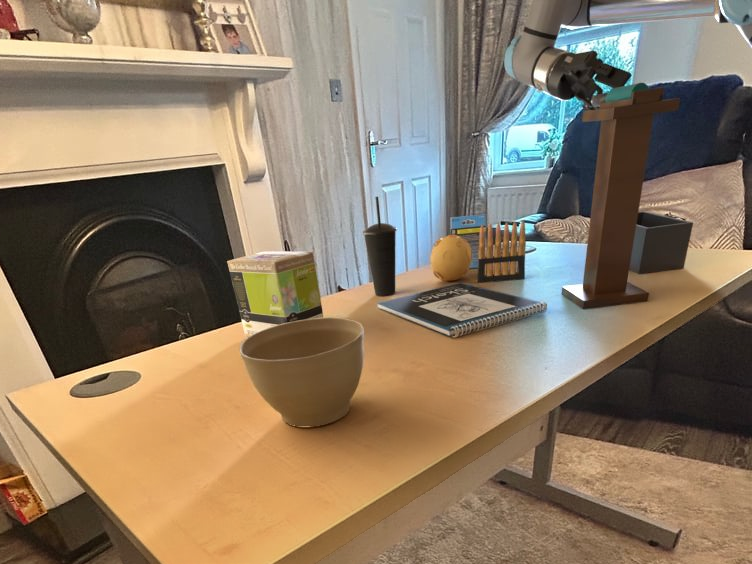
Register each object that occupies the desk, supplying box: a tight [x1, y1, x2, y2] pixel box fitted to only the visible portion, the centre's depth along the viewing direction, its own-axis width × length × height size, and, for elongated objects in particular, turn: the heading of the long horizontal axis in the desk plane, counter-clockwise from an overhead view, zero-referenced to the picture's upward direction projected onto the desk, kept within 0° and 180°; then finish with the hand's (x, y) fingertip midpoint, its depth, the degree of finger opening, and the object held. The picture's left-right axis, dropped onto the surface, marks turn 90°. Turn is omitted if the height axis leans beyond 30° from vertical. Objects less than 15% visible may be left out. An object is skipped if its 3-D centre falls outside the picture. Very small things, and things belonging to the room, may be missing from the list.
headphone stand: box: [561, 87, 681, 310], centre depth 94 cm, size 13×12×32 cm
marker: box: [592, 82, 649, 107], centre depth 89 cm, size 18×3×3 cm, turn 2°
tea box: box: [226, 250, 325, 335], centre depth 104 cm, size 15×10×15 cm
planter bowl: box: [238, 316, 365, 428], centre depth 71 cm, size 16×16×11 cm
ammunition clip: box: [477, 220, 527, 284], centre depth 120 cm, size 11×2×12 cm, turn 79°
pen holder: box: [629, 210, 694, 275], centre depth 120 cm, size 22×10×9 cm, turn 2°
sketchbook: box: [377, 282, 548, 339], centre depth 107 cm, size 22×30×2 cm
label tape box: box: [449, 213, 487, 270], centre depth 134 cm, size 9×4×12 cm, turn 79°
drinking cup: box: [362, 196, 398, 297], centre depth 120 cm, size 8×8×20 cm
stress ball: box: [429, 234, 472, 282], centre depth 126 cm, size 10×10×10 cm
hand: (635, 106), depth 103 cm, fingers open, 13 cm apart
